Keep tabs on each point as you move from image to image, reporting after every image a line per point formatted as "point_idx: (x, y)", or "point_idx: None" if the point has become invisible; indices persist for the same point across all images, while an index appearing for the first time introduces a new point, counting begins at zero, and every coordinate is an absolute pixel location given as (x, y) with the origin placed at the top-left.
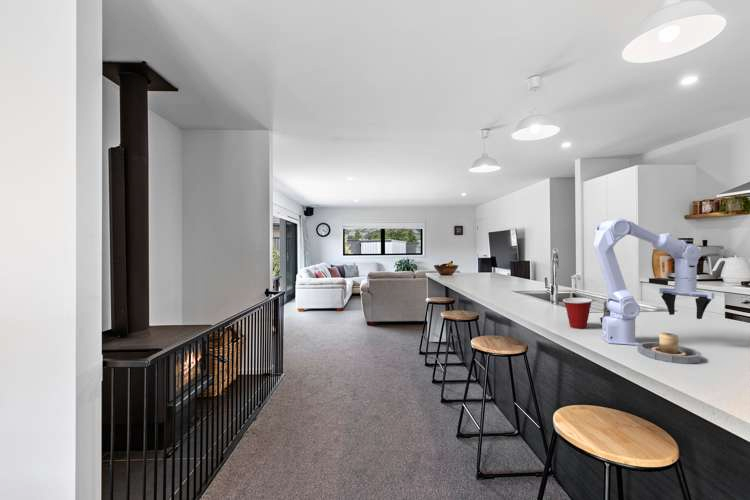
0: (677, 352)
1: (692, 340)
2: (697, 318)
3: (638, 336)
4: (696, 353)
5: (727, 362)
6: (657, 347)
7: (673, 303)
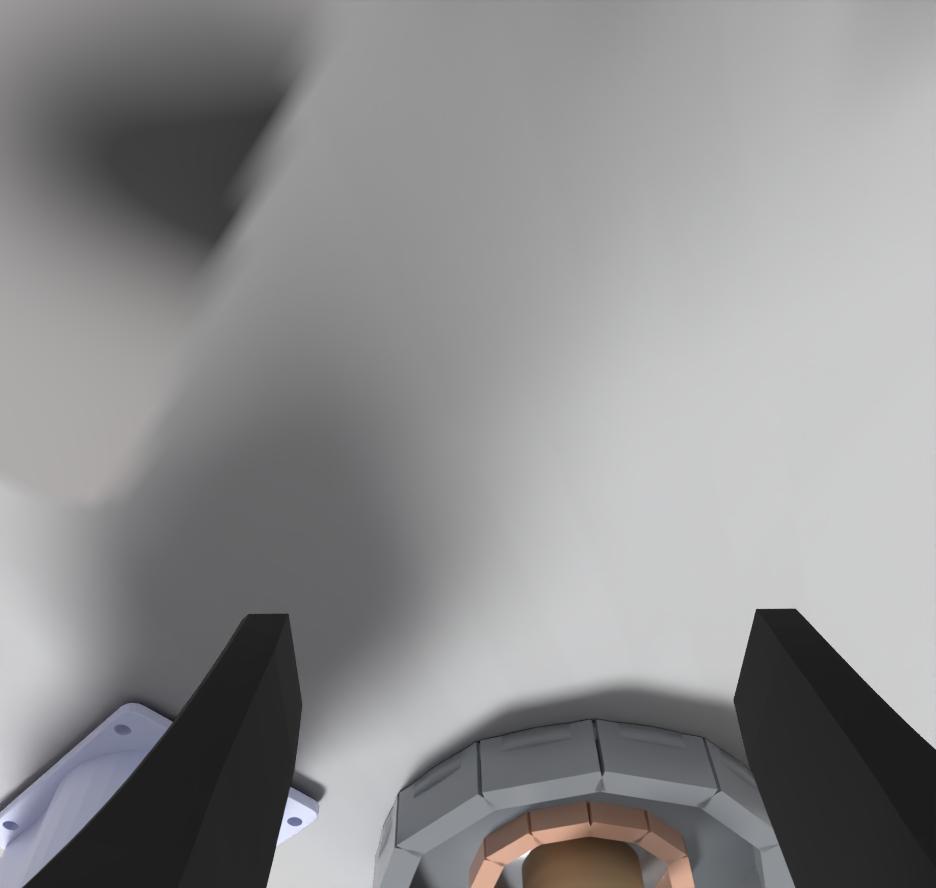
0: (643, 885)
1: (485, 96)
2: (747, 708)
3: (42, 512)
4: (765, 870)
5: (929, 715)
6: (490, 871)
7: (212, 872)
